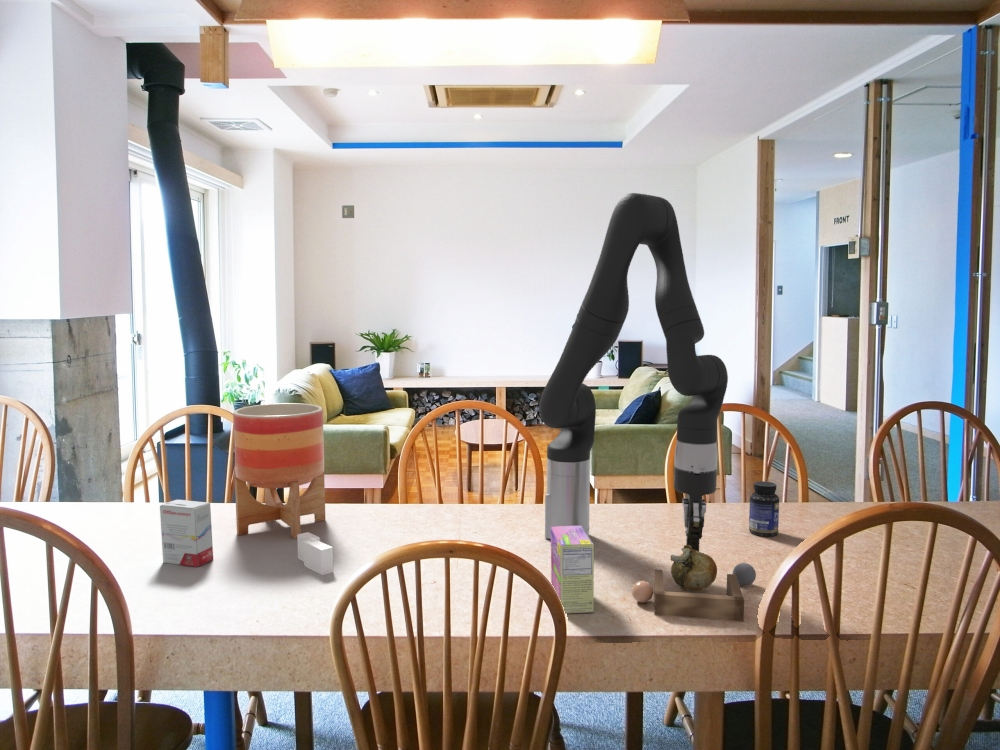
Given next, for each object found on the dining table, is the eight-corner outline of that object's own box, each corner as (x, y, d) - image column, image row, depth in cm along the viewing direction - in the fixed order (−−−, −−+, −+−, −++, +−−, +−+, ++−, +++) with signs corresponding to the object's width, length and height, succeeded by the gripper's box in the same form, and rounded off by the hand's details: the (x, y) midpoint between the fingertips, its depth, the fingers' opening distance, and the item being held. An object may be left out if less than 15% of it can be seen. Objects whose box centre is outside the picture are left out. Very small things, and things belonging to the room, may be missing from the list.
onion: (713, 599, 132) (714, 554, 131) (666, 592, 135) (667, 548, 134) (719, 584, 138) (720, 541, 138) (674, 577, 142) (675, 535, 141)
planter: (341, 530, 170) (338, 410, 167) (251, 547, 159) (246, 419, 156) (309, 509, 186) (306, 400, 184) (225, 523, 175) (220, 407, 172)
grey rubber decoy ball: (733, 588, 137) (734, 566, 136) (731, 580, 140) (731, 559, 140) (757, 590, 136) (757, 568, 135) (753, 581, 140) (754, 560, 139)
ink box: (214, 559, 152) (212, 501, 150) (197, 568, 147) (194, 508, 146) (179, 554, 154) (176, 497, 153) (161, 562, 150) (158, 504, 149)
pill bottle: (780, 538, 164) (782, 487, 163) (750, 536, 166) (752, 486, 164) (775, 529, 170) (777, 480, 169) (747, 527, 172) (748, 479, 170)
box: (550, 590, 136) (550, 525, 135) (581, 589, 136) (582, 524, 135) (559, 615, 126) (559, 545, 124) (593, 613, 126) (594, 544, 125)
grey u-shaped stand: (654, 614, 125) (655, 594, 125) (653, 588, 137) (654, 569, 136) (743, 621, 123) (744, 600, 123) (735, 593, 134) (735, 574, 134)
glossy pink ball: (631, 605, 129) (631, 584, 129) (631, 597, 133) (632, 576, 132) (653, 606, 129) (653, 586, 128) (652, 598, 132) (653, 578, 132)
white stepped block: (341, 579, 142) (340, 549, 142) (279, 581, 141) (278, 551, 141) (350, 552, 157) (350, 525, 157) (294, 553, 156) (293, 526, 156)
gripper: (672, 455, 146) (669, 543, 148) (676, 473, 133) (673, 568, 135) (713, 457, 145) (709, 546, 147) (720, 475, 132) (717, 571, 134)
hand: (692, 556), depth 141 cm, fingers closed
